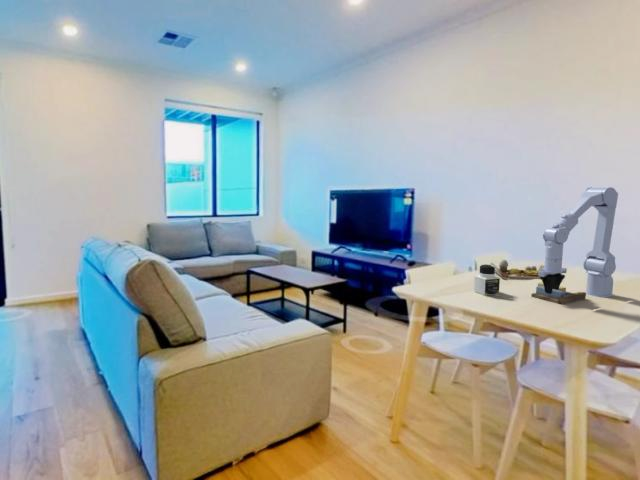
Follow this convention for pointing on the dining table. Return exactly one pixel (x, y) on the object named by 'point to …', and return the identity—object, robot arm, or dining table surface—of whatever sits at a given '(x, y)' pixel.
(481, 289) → the medicine bottle
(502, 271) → the toy food set
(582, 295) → the comb board
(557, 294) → the stick blue
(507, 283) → the dining table surface
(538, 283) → the stick ochre
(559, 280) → the robot arm
